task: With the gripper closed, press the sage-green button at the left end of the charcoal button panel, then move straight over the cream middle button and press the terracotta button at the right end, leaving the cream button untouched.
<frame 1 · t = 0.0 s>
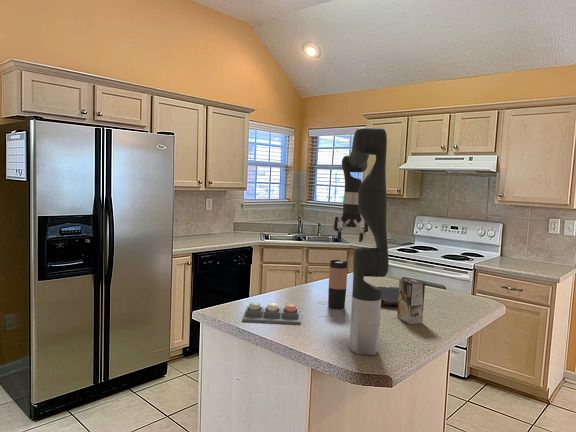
hand: (350, 241, 182), 29 cm above the worktop, tool pointing down, fingers open, 8 cm apart
sage button: (254, 306, 168), point 4 cm above the worktop, slide at 0.0 cm
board: (387, 302, 200), on the worktop
coffee box: (409, 320, 173), on the worktop
travel mug: (336, 307, 187), on the worktop
cream button: (272, 307, 168), point 4 cm above the worktop, slide at 0.0 cm
terracotta button: (290, 308, 168), point 4 cm above the worktop, slide at 0.0 cm
button panel: (272, 317, 169), on the worktop
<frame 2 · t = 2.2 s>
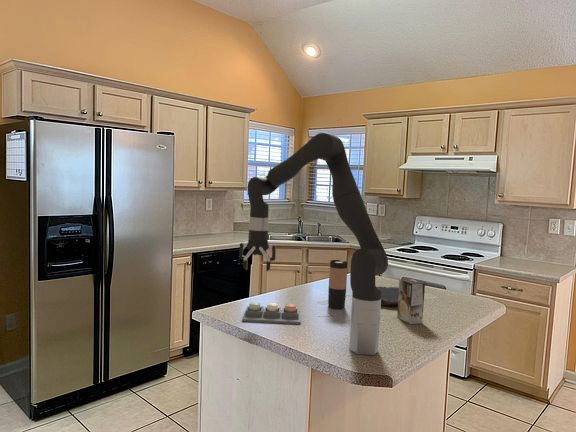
hand: (256, 270, 167), 18 cm above the worktop, tool pointing down, fingers open, 8 cm apart
nothing on the worktop moved.
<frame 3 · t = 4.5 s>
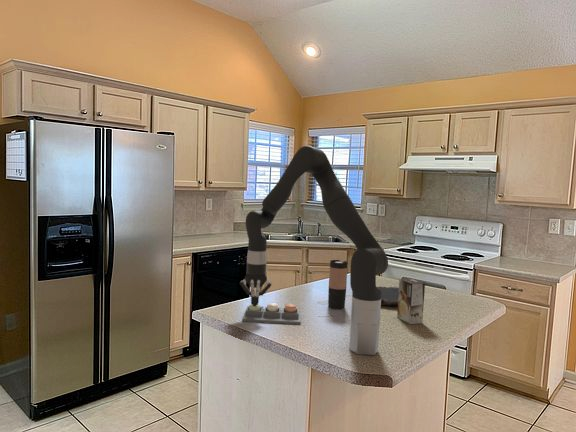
hand: (254, 305, 168), 4 cm above the worktop, tool pointing down, fingers closed
sage button: (254, 308, 168), point 3 cm above the worktop, slide at 0.7 cm, touching gripper
everything else where it was.
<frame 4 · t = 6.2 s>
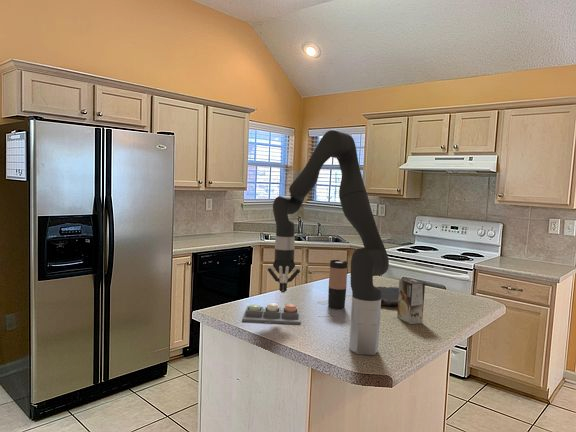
hand: (283, 292, 167), 10 cm above the worktop, tool pointing down, fingers closed
sage button: (254, 309, 168), point 3 cm above the worktop, slide at 0.9 cm
everything else where it was.
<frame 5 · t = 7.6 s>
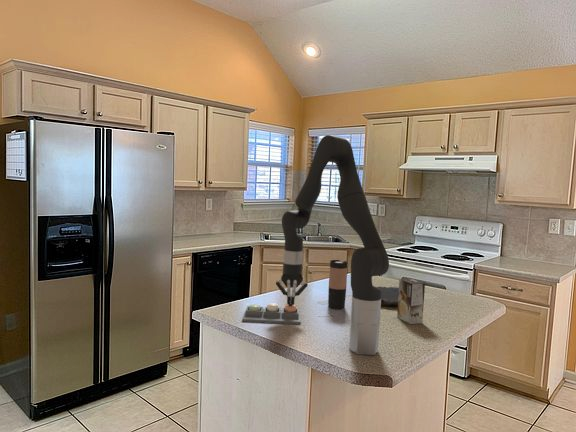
hand: (290, 305, 168), 5 cm above the worktop, tool pointing down, fingers closed
terracotta button: (290, 308, 168), point 4 cm above the worktop, slide at 0.0 cm, touching gripper
everything else where it was.
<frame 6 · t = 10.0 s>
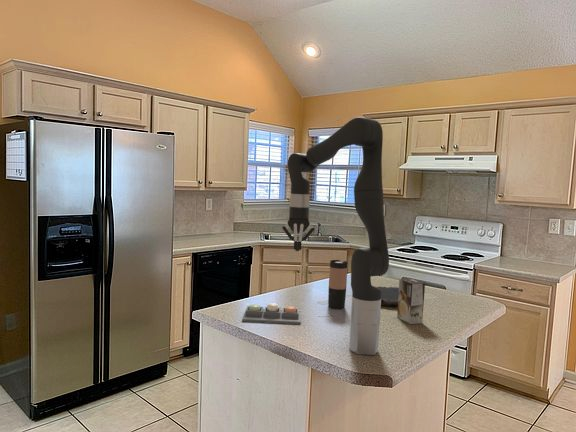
hand: (297, 250, 166), 27 cm above the worktop, tool pointing down, fingers closed
terracotta button: (290, 311, 168), point 3 cm above the worktop, slide at 0.9 cm
everything else where it was.
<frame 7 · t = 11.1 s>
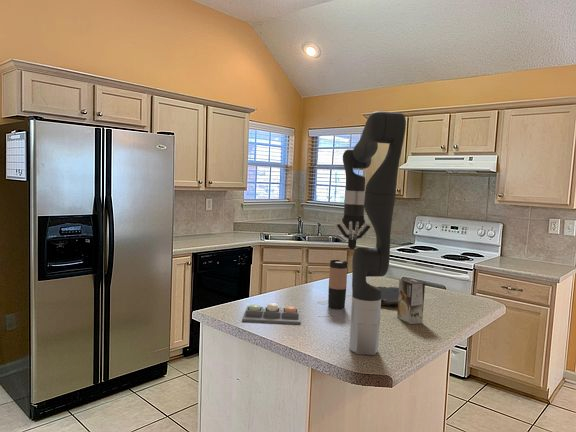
hand: (351, 249, 162), 29 cm above the worktop, tool pointing down, fingers closed
nothing on the worktop moved.
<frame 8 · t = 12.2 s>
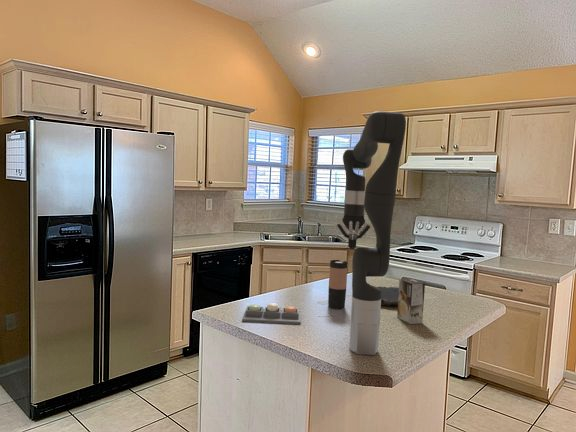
hand: (351, 248, 162), 29 cm above the worktop, tool pointing down, fingers closed
nothing on the worktop moved.
at the end: sage button slide at 0.9 cm; terracotta button slide at 0.9 cm; cream button slide at 0.0 cm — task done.
